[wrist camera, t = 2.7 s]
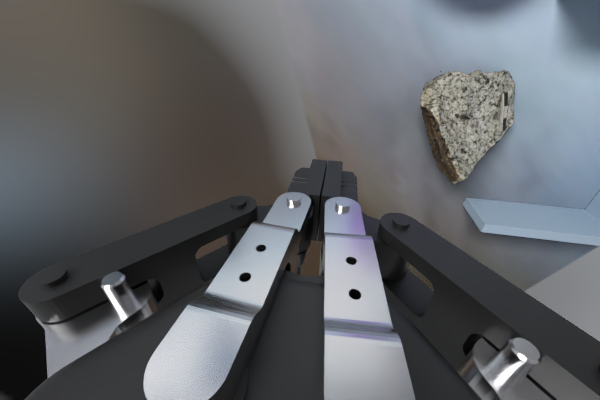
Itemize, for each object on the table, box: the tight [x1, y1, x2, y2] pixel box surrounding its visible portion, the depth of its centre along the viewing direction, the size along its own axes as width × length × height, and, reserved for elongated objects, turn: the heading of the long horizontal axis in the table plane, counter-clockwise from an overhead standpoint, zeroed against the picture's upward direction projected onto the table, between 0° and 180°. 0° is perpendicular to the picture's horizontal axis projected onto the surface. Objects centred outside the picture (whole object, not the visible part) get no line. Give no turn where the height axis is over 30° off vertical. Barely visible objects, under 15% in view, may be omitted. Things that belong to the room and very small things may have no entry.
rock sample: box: [418, 70, 515, 185], centre depth 23 cm, size 10×8×9 cm
